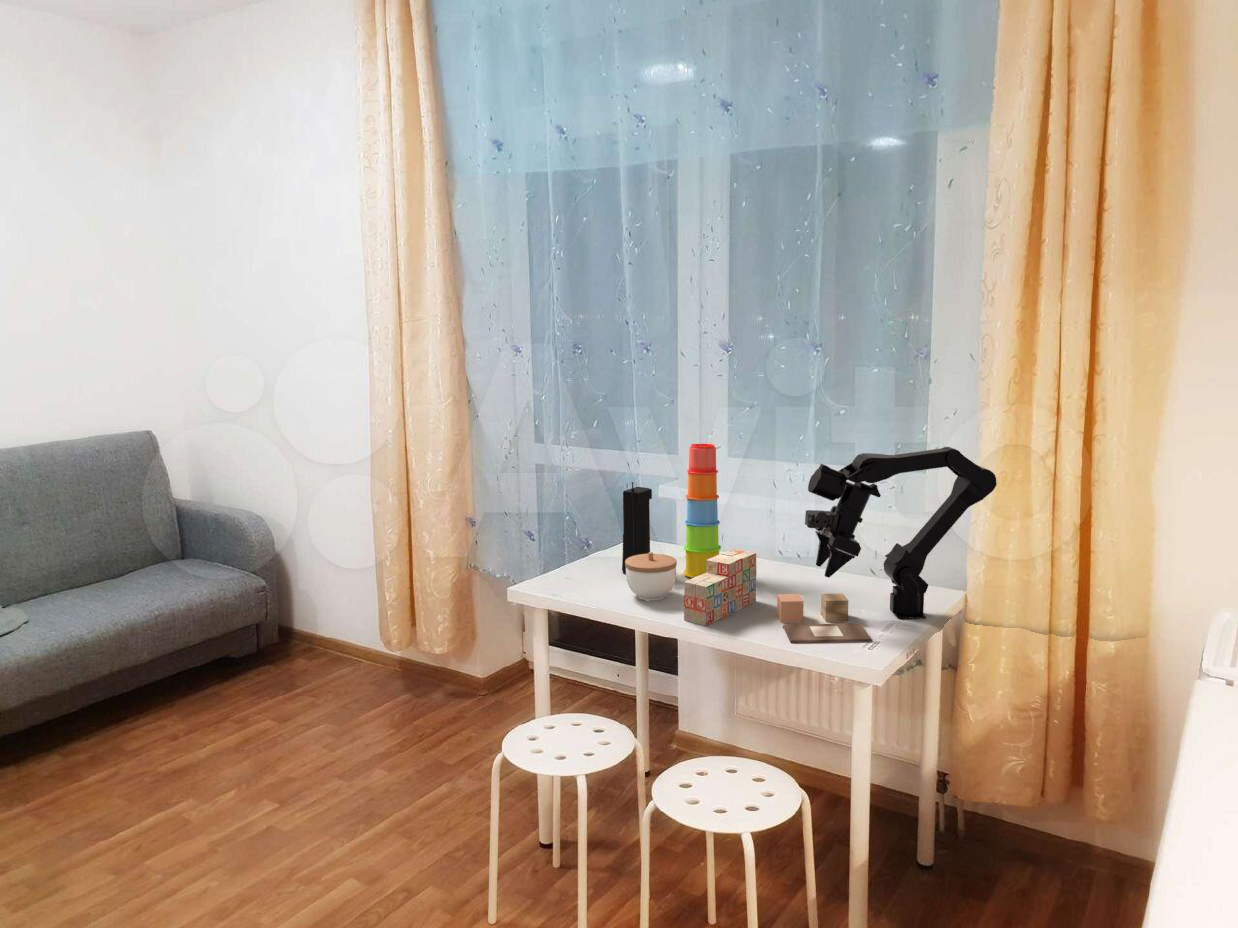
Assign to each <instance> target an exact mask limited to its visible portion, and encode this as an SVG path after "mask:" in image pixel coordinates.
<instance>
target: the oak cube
mask: <svg viewBox="0 0 1238 928" xmlns="http://www.w3.org/2000/svg"><path fill="white" fill-rule="evenodd" d="M820 595H821V597H820V615H821V617H822V619H823V620H824V622H826V623H833V622H834V623H836V622H837V623H838V622H841V623H842V622H849V600H848V598H847V596H846V595H845V594H844V593H843V592H841V593H840V592H839V593H821V594H820Z"/></svg>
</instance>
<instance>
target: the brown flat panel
mask: <svg viewBox="0 0 1238 928" xmlns="http://www.w3.org/2000/svg"><path fill="white" fill-rule="evenodd" d="M782 628H783V630H784V631H785V634H786V636H787V638H788V640H789V642H790V644H799V643H800V644H803V643H804V644H806V643H807V644H810V643H814V644H815V643H866V642H867V643H870V642H871V643H872V640H873V639H872V638H871V636H870V635H869V633H868V632H867V631H866V629H865V628H864V626H863V625H862V623H860V622H857V623H855V622H853V623H798V624H797V623H793V624H792V623H790V624H788V623H785V624H782Z"/></svg>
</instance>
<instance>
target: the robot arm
mask: <svg viewBox="0 0 1238 928" xmlns="http://www.w3.org/2000/svg"><path fill="white" fill-rule="evenodd" d="M941 468H948V469H949V471H951V472H952V473H953V474H954V475H955V476H957V477H956V478H955V480H954V481H953V486H952V489H951V492H950V494H949V496H948V497H947V498H946V500H945V501H943V502H942V504H941V505H940V506H939V507H938V508H937V510H936V511H935V512H934V513H933V515H931V517H930V518H929V519H928V520H927V522H925V524H924V525H923V526H922V527H921V529H920V530H919V531H918V532H917V533H916V534H915V535H914V537H913V538H912V539H911V540H910V541H909V542H908V543H906V544H905V545H901V544H899V543H898V542H897V543H895V544H894V546H893V547H892V549H891V551H889V552H888V553H887V554H885V555H884V557H885V558H886V559H885V560H884V561H883V570H884V573H885V575H886V576H887V577H888V578H890V580H891V583H892V584H893V586H892V592H890V594H889V610H890V612H891V613H892V614H893V615H894V616H895V617H896V618H897V619H926V617H927V616H926V614H925V613H924V611H925V610H924V609H925V608H924V606H925V594H926V592H927V590H928V587H929V583H927V581H926V580H925V579H924V578H922V577H921V576H920V574H921V573H922V572H923V570H924V566H925V564H926V560H927V557H928V556H929V554H930V553H931V552H932V550H934V548H935V547H936V545H937V544H938V543H940V541H941V540H942V539H943V538H944V537H945V535H946V534H947V533H948V532H949V531H950V529H951V528H952V527H953V526H954V525H955V524H956V522H957V521H958V520H959V519H960V518H961V517H962V515H964V514H965V512H966V511H967V510H968V509H969V508H970V507H971V506H973V505H975V504H977V503H979V502H982V501H983V500H984V499H985V498H986V497H987V496H988V495H990V494H991V493H992V492H993V491H994V490H995V489H996V487H997V485H998V483H997V477H996V475H995V473H994V472H993V471H991V470H990V469H988V468H985V467H982V466H980V465H978V464H976V463H974V462H973V461H972V460H970V459H969V458H967V456H965V455H963V454H962V453H961V451H959V450H958V449H956V448H953V447H951V446H944V447H942V448H935V449H927V450H922V451H921V450H920V451H913V452H906V453H905V452H904V453H900V454H899V453H897V454H882V453H870V452H869V453H866V452H865V453H864V452H863V453H859V454H857V455H855V457H854V458H853V460H852V462H851V463H849V464H847V465H846V466H844V467H842V468H841V469H839V470H836V469H833V468H831V467H829V466H828V465H825V464H823V463H820V464H819V467H818V468H817V469H816V470H815V471H814V473H813V474H812V475H811V476H810V479H809V481H808V485H807V491H808V492H809V493H811V494H812V495H813V494H814V495H815V496H818V497H821V498H824V499H825V500H829V501H831V502H832V501H835V500H836V499H837V500H838V503H837V504H836V505H833V506H832V507H831V509H830V510H818V509H817V510H813V509H812V510H811V509H810V510H808V509H807V510H805V515H804V517H805V519H804V525H806V527H807V528H809V529H815V534H816V536H817V539H818V548H817V554H816V562H815V565H816V567H821V566H823V565H824V564H825V563H826V562H827V564H826V567H825V571H824V577H825V578H831V577H832V576H833V575H834V574H835V573H836V572H838V571H839V570H840V569H841V568H843V567H844V565H846V564H848V563H849V562H850V561H851V560H852V559H855V558H856V557H858V556H859V554H860V552H861V550H862V546H861V545H860V543H859V541H857V540H856V539H855V538H856V535H855V534H854V533H855V531H856V528H857V526H858V524H859V523H860V524H861V523H862V522H863V520H864V518H862V515H863V513H864V510H865V508H866V506H867V503H868V502H869V499H870V497H871V496H874V497H876V498H881V496H882V495H881V493H880V491H879V487H878V485H877V484H876V483H879V482H881V481H885V480H888V479H890V478H892V477H893V476H896V475H899V474H904V473H912V472H919V471H920V472H921V471H927V470H933V469H941ZM864 482H865V483H864ZM866 483H868V484H866ZM827 560H828V561H827Z"/></svg>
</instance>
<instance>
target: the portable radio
mask: <svg viewBox="0 0 1238 928" xmlns="http://www.w3.org/2000/svg"><path fill="white" fill-rule="evenodd" d="M630 484H631V488H629V489H626V490H623V492H622V520H623V523H622V524H623V525H622V527H623V532H622V533H623V534H622V563H621V565H622V566H621V571H622V573H623V574H625V575H626V566H625V560H626V559H627V558H629V557H631V556H635V555H640V554H648V553H649V552H651V535H650V534H651V531H650V530H651V528H650V527H651V526H650V525H651V524H650V518H651V517H650V500H652V499H653V489H652V488H649V487H644V486H643V487H642V486H636V487H634V482H632V481H631V482H630Z"/></svg>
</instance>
